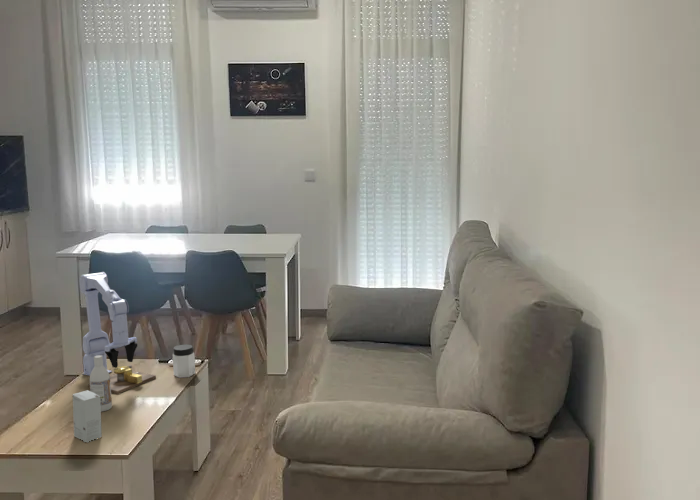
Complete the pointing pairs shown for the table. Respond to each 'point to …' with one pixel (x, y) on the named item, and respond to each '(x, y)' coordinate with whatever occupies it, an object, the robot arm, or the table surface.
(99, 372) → the bath foam
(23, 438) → the table surface
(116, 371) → the door handle
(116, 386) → the base
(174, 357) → the jar
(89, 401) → the skincare box
